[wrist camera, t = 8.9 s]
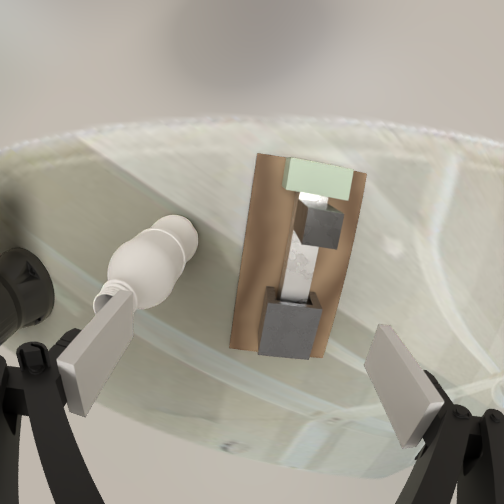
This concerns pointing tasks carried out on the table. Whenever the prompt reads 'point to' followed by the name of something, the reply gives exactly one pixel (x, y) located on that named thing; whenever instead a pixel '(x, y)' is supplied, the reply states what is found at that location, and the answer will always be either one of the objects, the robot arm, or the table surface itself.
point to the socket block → (317, 178)
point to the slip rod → (307, 244)
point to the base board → (274, 247)
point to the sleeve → (288, 326)
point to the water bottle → (150, 263)
